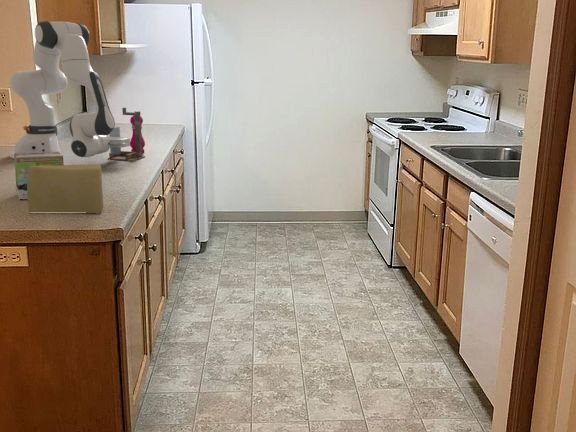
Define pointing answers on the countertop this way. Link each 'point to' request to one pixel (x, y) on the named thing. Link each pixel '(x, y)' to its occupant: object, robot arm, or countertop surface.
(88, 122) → the robot arm
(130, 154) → the hanger stand
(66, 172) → the olive green box
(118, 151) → the grey tapered cup
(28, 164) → the tea box
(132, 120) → the pepper mill
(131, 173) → the countertop surface
